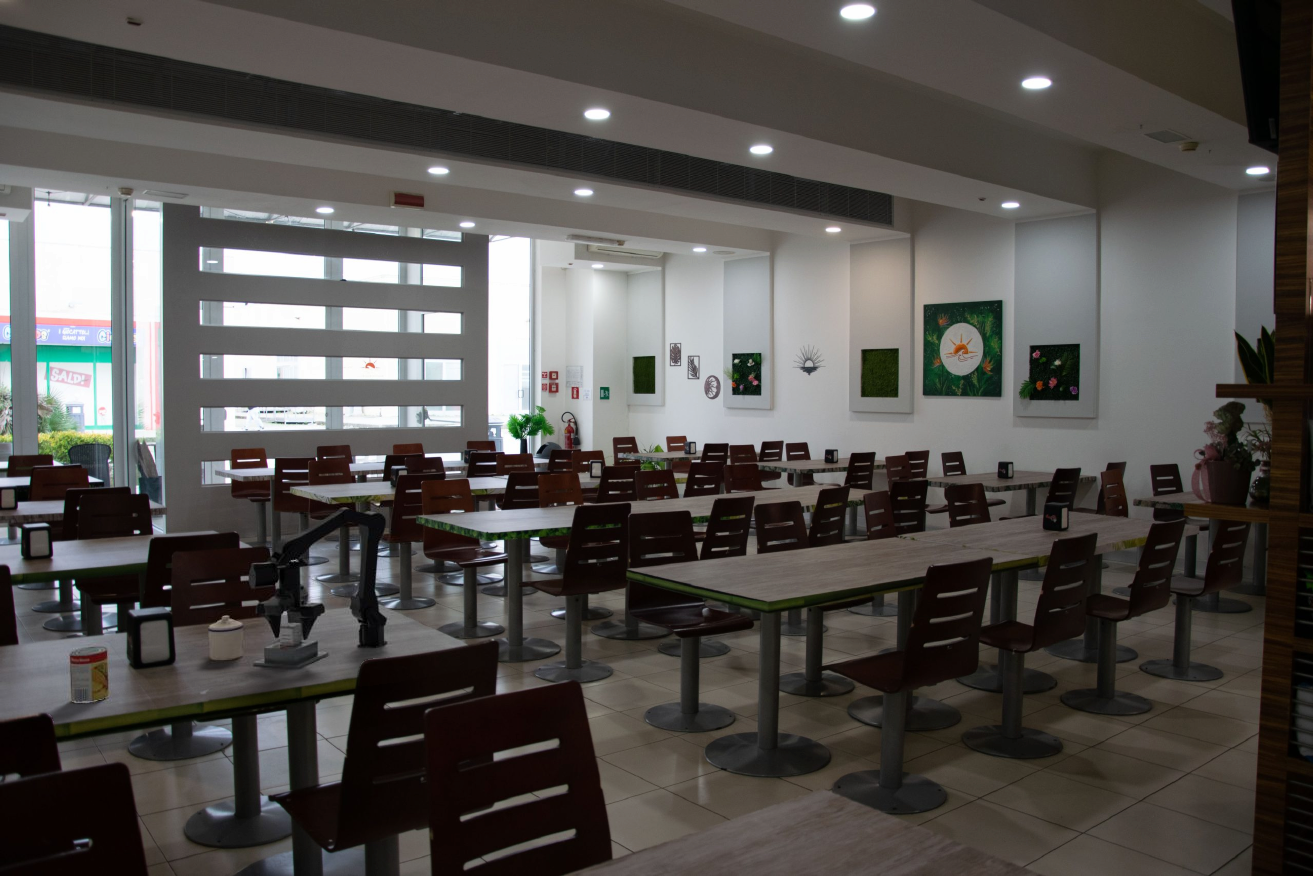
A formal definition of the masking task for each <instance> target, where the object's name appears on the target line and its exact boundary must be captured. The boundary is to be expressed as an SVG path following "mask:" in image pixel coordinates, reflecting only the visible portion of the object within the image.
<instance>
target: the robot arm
mask: <svg viewBox="0 0 1313 876" xmlns="http://www.w3.org/2000/svg"><path fill="white" fill-rule="evenodd" d="M348 523H352V524H354V525H358V528H359V529H358V531H359V535H360V539H361V541H362V544H361V545H362V546H361V557H360V567H359V579H358V580H359V582H358V590H357V592H356V594H355V595H352V594H351V596H350V606H349V608H348V609H349V610H351V615H352V616H353V618H355V619H357V623H358V624H360V625H359V630H358V643H357V645H356V646H357V647H358V648H371V649H372V648H373V649H376V648H379V647H381V646H383V645H386V644H387V643H388V641H387V640H385V626H386V625H387V621H388V617H386V616H385V615H384V614H383V613H381V612H380V606H379V599H378V596H377V592H376V583H377V582H376V581H377V571H378V557H379V545H380V541H381V540H382V538H383V536H384V533H385V529H386V525H387V518H386V517H385V516H384V515H383V513H382V514H381V513H379V512H374V511H365V512H361V511H357V510H354V509H352V508H348V507H341V508H339V509H338V510H337V511H335V512H333V513H332V514H331V515H329V516H327V517H325V518H324V519H322V520H320V521H319V522H317V523H316V524H314V525H312V526H310V527H309V528H307V529H305V530H304V531H303V530H302V531H301V532H298V533H294V534H291V535H287V536H285V537H283V538H281V539H279V540H278V541H277V542H276V544H275V548H274V549H275V550H274V551H273V553H272V554H271V555H270V557H269V559H268V560H267V561H266V562H253V563H251V564H250V565H251V566H250V568H249V569H250V570H249V572H248V573H249V574H248V583H249V587H250V588H251V589H253V590H254V589H258V588H260V589H261V588H266V587H274V586H275V585H276V584H278V587H277V588H276V589H275V591H274V596H272V597H271V598H269V599H268V600H264V601H261V602H258V603H257V604H256V607H255V614H258V615H260V617H261V618H264V619H266V621H267V622H268V624H269V626H270V629H271V631H272V633H273V635H274V638H275V639H278V638H280V626H282V625H281V624H282V623H281V622H282V615H283V614H284V612H286V613H287V612H300V614H301V615H302V616H303V617H300V619H301V621H302V623H303V633H302V640H308V638H309V636H310V633H311V631H312V629H313V626H314V624H315V622H316V621H317V619H318V617H320V616H321V615H322V614H325V613H326V606H325V605H324V604H323V602H310V603H307V604H306V605H303V606H301V604H304V600H301V590H303V589H304V586H305V585H304V586H301V584H302V582H301V581H302V580H301V568H303V567H304V568H305V567H308V566H309V563H307V562H306V561H305V560H304V559H303V557H302V556H303V555H305V554H306V553H307V552H308V550H310V548H311V547H312V546H313V545H314V544H315V543H317V542H318V541H320V540H322V539H323V538H325V537H327V536H328V535H330V534H331V533H333V532H335V531H337V530H339V529H340V528H341V527H343V526H345V525H346V524H348ZM293 608H296V609H293Z"/></svg>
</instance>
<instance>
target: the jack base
mask: <svg viewBox="0 0 1313 876" xmlns="http://www.w3.org/2000/svg"><path fill="white" fill-rule="evenodd" d="M263 654H264V655H263V658H261V659H258V660H256V661H253V663H252V664H253V665H252V666H260V667H270V668H283V669H296V670H297V669H300V668H302V667H304V666H307V665H309V664H311V663H313V662H317V661H319V660H320V659H323V658H326V657H328V656H329V652H325V651H319V645H318V640H310V639H309V640H308V639H307V640H303V639H302V644H300V645H297V646H295V647H286V646H280V641H279V642H275V643H273V644H270V645H268V646H265V647H263Z"/></svg>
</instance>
